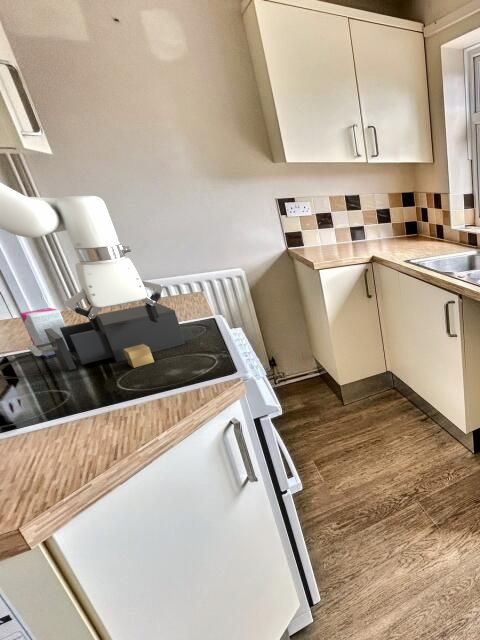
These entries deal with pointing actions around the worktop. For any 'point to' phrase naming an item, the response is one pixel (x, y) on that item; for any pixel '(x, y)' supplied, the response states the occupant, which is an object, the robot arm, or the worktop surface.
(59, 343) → the dark grey box
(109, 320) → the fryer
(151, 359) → the block
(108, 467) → the worktop surface
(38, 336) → the supplement box
